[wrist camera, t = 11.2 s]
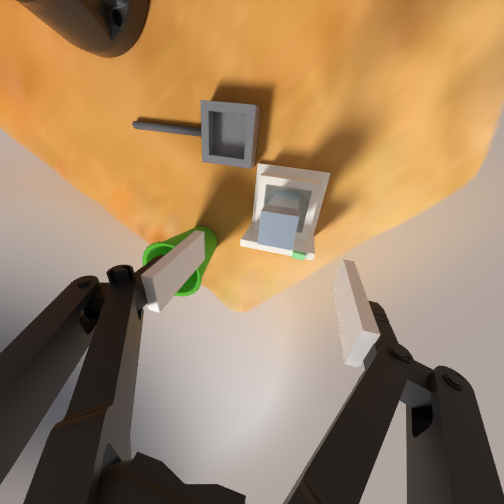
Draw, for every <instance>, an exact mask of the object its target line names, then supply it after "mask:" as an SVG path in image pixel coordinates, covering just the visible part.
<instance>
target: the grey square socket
mask: <svg viewBox="0 0 504 504" xmlns="http://www.w3.org/2000/svg"><path fill="white" fill-rule="evenodd" d="M259 118H260V107H259V106H257V105H252V104H241V103H229V102H218V101H206V100H201V132H202V162H207V163H214V164H221V165H229V166H236V167H243V168H250V169H251V168H253V167H255V161H256V150H257V140H258V129H259Z"/></svg>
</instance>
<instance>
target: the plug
mask: <svg viewBox="0 0 504 504" xmlns="http://www.w3.org/2000/svg"><path fill="white" fill-rule="evenodd" d="M300 195H301V194H298V193H291V192H284V191H276V192H275V194H274V196H273V197H272V199H271V200H270V202H269V204H265V206H264V207H263V209H262V210H261V216H260V226H259V235H258V244H261V245H266V246H271V247H276V248H282V249H287V250H292V249H293V244H294V239H295V235H296V230H297V225H298V221H299V215H300V209H298V208H299V201H300Z"/></svg>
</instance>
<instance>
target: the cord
mask: <svg viewBox="0 0 504 504" xmlns="http://www.w3.org/2000/svg"><path fill="white" fill-rule="evenodd" d="M132 125H133V127H134V128H136V129H142V130H150V131H159V132H167V133H176V134H184V135H193V136H201V137H202V132H201V128H194V127H185V126H176V125H167V124H158V123H149V122H140V121H134V122H133V123H132Z"/></svg>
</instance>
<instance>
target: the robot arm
mask: <svg viewBox="0 0 504 504" xmlns="http://www.w3.org/2000/svg"><path fill="white" fill-rule="evenodd" d="M16 1H18V2H19V3H21V4H22V5H23V6H24V7H26V8H27V9H28V10H29V11H31V12H32V13H33V14H34V15H36V16H37V17H38V18H39V19H41V20H42V21H43V22H44V23H46V24H47V25H48V26H49V27H51V28H52V29H53V30H54V31H56V32H57V33H58V34H59V35H61V36H62V37H63V38H65V39H66V40H67V41H68V42H70V43H71V44H73V45H75V46H76V47H78V48H80V49H82V50H85V51H87V52H90V53H92V54H95V55H98V56H101V57H107V58H112V57H117V56H120V55H122V54H124V53H125V52H127V51H128V50H129V49H130V48H131V47H132V46H133V45H134V44H135V42H136V41H137V39H138V37H139V35H140V33H141V31H142V28H143V25H144V22H145V18H146V14H147V7H148V0H16ZM204 260H205V243H204V232H203V231H198V230H195V231H194V232H193V233H192V234H190V235H189V236H188V237H187V238H186V239H184V240H183V241H182V242H181V243H179V244H178V245H177V246H176V247H175V248H173V249H172V250H171V251H170V252H168V253H167V254H166V255H159V256H157V257H154V258H153V259H152V260H151V261H149V262H148V263H147V264H145V266H143V267H142V268H140V269H139V270H138V271H137V272H135V273H134V271H133V267H132V266H130V265H118V266H115V267H112V268H111V269H109V270H108V271H107V276H108V279H109V282H110V283H99V280H98V278H97V277H95V276H83V277H80V278H78V279H76V280H74V281H73V282H71V283H70V285H68V286H67V287H66V288H65V290H64V291H62V292H61V293H60V294H59V296H58V297H57V298H56V299H54V301H52V302H51V303H50V304H49V305H48V306H47V307H46V308H45V309H44V310H43V311H42V312H41V313H40V314H39V315H38V316H37V317H36V318H35V319H34V320H33V321H32V322H31V323H30V324H29V325H28V326H27V327H26V328H25V329H24V330H23V331H22V332H21V333H20V334H19V335H18V336H17V337H16V338H15V339H14V340H13V341H12V342H11V343H10V344H9V345H8V346H7V347H6V348H5V349H4V350H3V351H2V352H1V353H0V484H1V483H2V481H3V480H4V478H5V477H6V475H7V474H8V472H9V471H10V469H11V468H12V466H13V465H14V463H15V462H16V460H17V458H18V457H19V455H20V454H21V452H22V451H23V449H24V447H25V446H26V444H27V443H28V441H29V440H30V438H31V436H32V435H33V433H34V432H35V430H36V428H37V427H38V425H39V424H40V422H41V421H42V419H43V417H44V416H45V414H46V413H47V411H48V410H49V408H50V406H51V405H52V403H53V402H54V400H55V398H56V397H57V395H58V394H59V392H60V391H61V389H62V387H63V386H64V384H65V383H66V381H67V380H68V378H69V376H70V375H71V373H72V372H73V370H74V368H75V367H76V365H77V364H78V362H79V361H80V359H81V357H82V356H83V354H84V353H85V351H86V350H87V348H88V346H89V348H88V351H87V354H86V357H85V360H84V363H83V366H82V369H81V372H80V375H79V378H78V381H77V384H76V387H75V390H74V393H73V396H72V399H71V402H70V404H69V408H68V410H67V413H66V415H65V418H64V419H63V420H62V421H60V422H58V423H57V424H56V425H55V426H54V427H53V429H52V430H51V432H50V434H49V437H48V439H47V441H46V444H45V447H44V449H43V452H42V455H41V457H40V460H39V463H38V466H37V468H36V471H35V474H34V476H33V479H32V482H31V484H30V487H29V490H28V493H27V495H26V498H25V501H24V503H23V504H245V498H246V496H245V495H243V494H240V493H238V492H235V491H233V490H230V489H228V488H225V487H223V486H220V485H218V484H185V483H183V482H182V481H181V480H180V479H179V478H178V477H177V476H176V475H175V474H174V473H173V472H172V471H171V470H170V469H169V468H168V467H167V466H166V465H165V464H164V463H163V462H162V461H159V460H157V459H154V458H152V457H149V456H147V455H144V454H142V453H139V452H137V453H136V455H135V457H134V459H131V443H130V429H131V420H132V410H133V401H134V393H135V384H136V376H137V367H138V358H139V349H140V340H141V331H142V322H143V314H144V311H143V307H144V306H145V305H146V304H148V308H149V310H152V311H156V312H160V311H161V310H162V309H163V308H164V307H165V305H166V304H167V303H168V302H169V301H170V300H171V298H172V297H173V296H174V295H175V294H176V293H177V291H178V290H179V289H180V288H181V287H182V286H183V284H184V283H185V282H186V281H187V280H188V279H189V277H190V276H191V275H192V274H193V273H194V272H195V270H196V269H197V268H198V267H199V266H200V265H201V263H202V262H203V261H204ZM333 294H334V300H335V307H336V313H337V319H338V326H339V332H340V338H341V345H342V351H343V358H344V364H347V365H351V366H354V367H358V368H359V367H360V366H361V364H362V363H363V362H364V366H365V371H364V372H363V374H362V375H361V377H360V378H359V380H358V382H357V384H356V385H355V387H354V388H353V390H352V392H351V393H350V395H349V397H348V398H347V400H346V402H345V403H344V405H343V406H342V408H341V410H340V411H339V413H338V415H337V416H336V418H335V420H334V421H333V423H332V424H331V426H330V428H329V429H328V431H327V433H326V434H325V436H324V438H323V439H322V441H321V442H320V444H319V446H318V448H317V449H316V451H315V452H314V454H313V456H312V457H311V459H310V461H309V462H308V464H307V465H306V467H305V469H304V470H303V472H302V474H301V475H300V477H299V478H298V480H297V482H296V484H295V485H294V487H293V488H292V490H291V492H290V493H289V495H288V496H287V498H286V500H285V501H284V503H283V504H359V502H360V500H361V497H362V494H363V492H364V489H365V486H366V484H367V482H368V479H369V476H370V474H371V471H372V469H373V466H374V464H375V461H376V459H377V456H378V454H379V451H380V448H381V446H382V443H383V441H384V438H385V436H386V433H387V431H388V428H389V425H390V423H391V420H392V418H393V415H394V413H395V410H396V408H397V405H398V402H399V400H400V401H401V402H403V403H405V404H406V433H407V434H406V435H407V504H504V494H503V491H502V487H501V484H500V480H499V477H498V474H497V470H496V466H495V463H494V460H493V456H492V452H491V449H490V446H489V442H488V439H487V435H486V432H485V428H484V425H483V421H482V418H481V414H480V411H479V407H478V404H477V400H476V397H475V393H474V390H473V388H472V386H471V385H470V384H469V382H468V381H467V380H466V379H465V378H464V377H463V376H462V375H460V374H459V373H458V372H456V371H454V370H453V369H451V368H448V367H445V366H438V367H436V368H435V369H434V370H433V369H431V368H428V367H426V366H425V365H422V364H421V363H418V362H417V361H415V360H414V359H413V357H412V355H411V354H410V352H409V351H408V350H407V349H406V348H404V347H403V346H402V345H400V344H398V341H397V339H396V337H395V334H394V332H393V330H392V327H391V325H390V324H389V320H388V318H387V316H386V313H385V311H384V309H383V308H382V307H381V306H380V305H379V304H378V303H376V302H372V301H368V299H367V296H366V293H365V291H364V288H363V285H362V282H361V280H360V277H359V274H358V271H357V268H356V266H355V263H354V261H349V260H343V262H342V264H341V267H340V269H339V272H338V275H337V277H336V280H335V283H334V285H333Z"/></svg>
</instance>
